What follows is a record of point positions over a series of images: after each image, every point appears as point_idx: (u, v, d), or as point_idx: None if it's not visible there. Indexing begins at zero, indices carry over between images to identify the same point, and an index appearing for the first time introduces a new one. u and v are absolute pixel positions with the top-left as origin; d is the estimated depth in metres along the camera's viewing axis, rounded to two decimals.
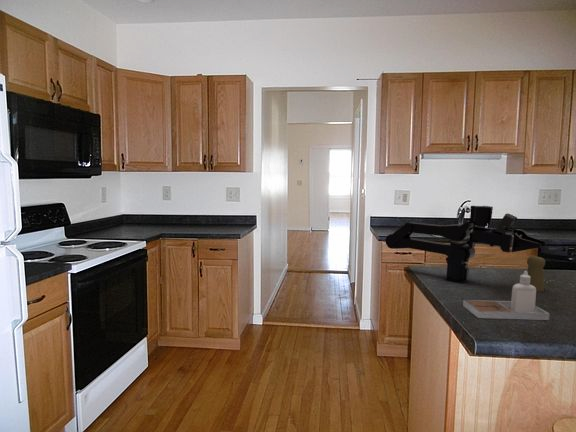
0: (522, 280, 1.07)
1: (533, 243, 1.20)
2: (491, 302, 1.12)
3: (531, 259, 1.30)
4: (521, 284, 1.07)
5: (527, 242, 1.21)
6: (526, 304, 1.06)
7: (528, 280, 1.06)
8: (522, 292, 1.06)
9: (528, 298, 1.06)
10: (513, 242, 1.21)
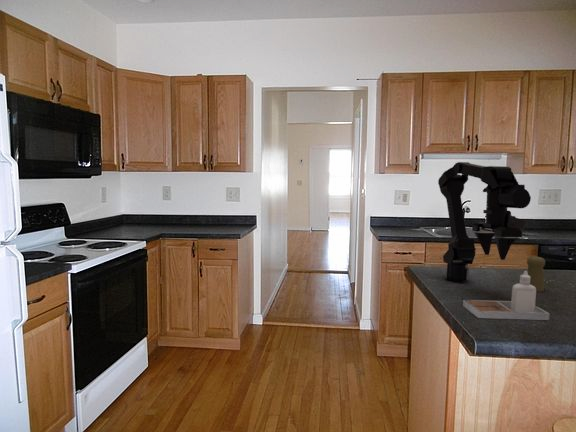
0: (522, 280, 1.07)
1: (505, 254, 1.16)
2: (491, 302, 1.12)
3: (531, 259, 1.30)
4: (521, 284, 1.07)
5: (507, 249, 1.15)
6: (526, 304, 1.06)
7: (528, 280, 1.06)
8: (522, 292, 1.06)
9: (528, 298, 1.06)
10: (510, 238, 1.13)
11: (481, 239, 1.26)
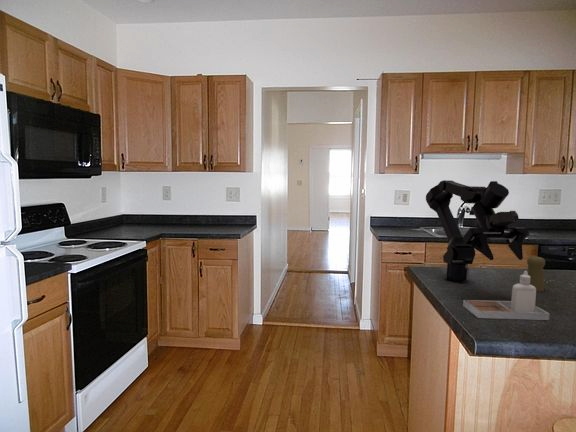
0: (522, 281, 1.07)
1: (488, 253, 1.15)
2: (491, 302, 1.12)
3: (531, 259, 1.30)
4: (521, 284, 1.07)
5: (485, 248, 1.15)
6: (526, 304, 1.06)
7: (528, 280, 1.06)
8: (522, 292, 1.06)
9: (528, 298, 1.06)
10: (473, 240, 1.18)
11: (511, 248, 1.20)
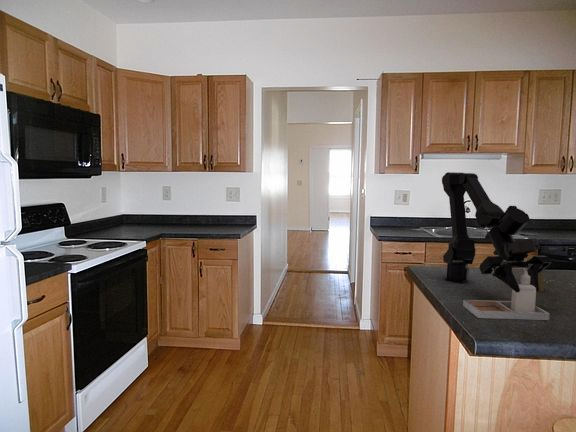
0: (522, 280, 1.07)
1: (514, 285, 1.06)
2: (491, 302, 1.12)
3: None
4: (521, 284, 1.07)
5: (510, 279, 1.07)
6: (526, 304, 1.06)
7: (528, 280, 1.06)
8: (522, 292, 1.06)
9: (528, 298, 1.06)
10: (497, 270, 1.09)
11: None
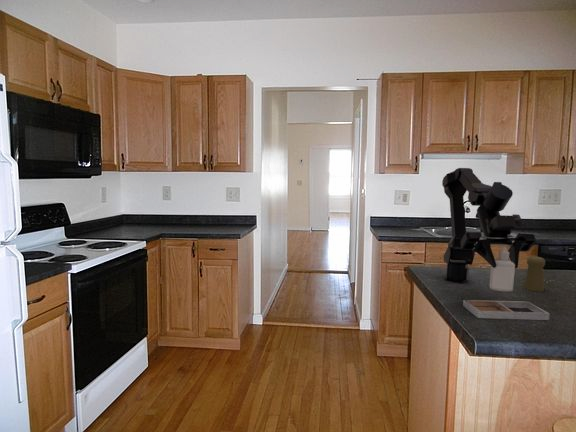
0: (500, 256, 1.06)
1: (491, 260, 1.06)
2: (491, 302, 1.12)
3: (531, 259, 1.30)
4: (499, 260, 1.06)
5: (488, 255, 1.07)
6: (503, 280, 1.06)
7: (506, 256, 1.05)
8: (499, 268, 1.06)
9: (506, 274, 1.05)
10: (476, 245, 1.10)
11: (509, 256, 1.10)
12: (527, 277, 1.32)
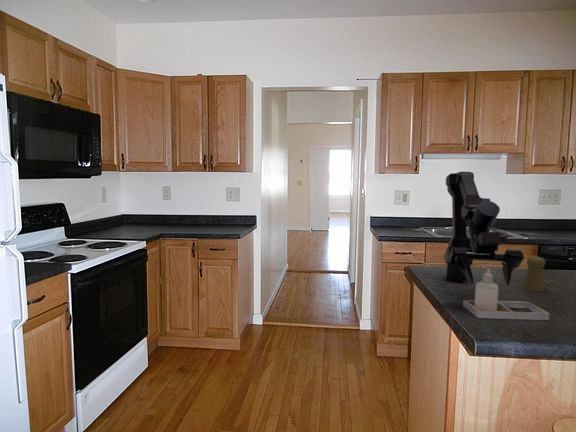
0: (483, 278, 1.07)
1: (468, 275, 1.08)
2: None
3: (531, 259, 1.30)
4: (482, 282, 1.07)
5: (466, 270, 1.09)
6: (486, 302, 1.07)
7: (489, 278, 1.06)
8: (482, 290, 1.07)
9: (489, 296, 1.06)
10: (456, 260, 1.12)
11: (503, 272, 1.10)
12: (527, 277, 1.32)
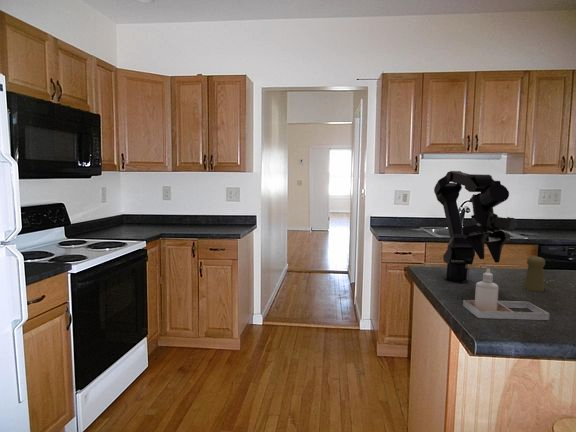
0: (484, 278, 1.08)
1: (481, 252, 1.16)
2: None
3: (531, 259, 1.30)
4: (483, 282, 1.08)
5: (480, 247, 1.16)
6: (486, 302, 1.07)
7: (489, 278, 1.07)
8: (482, 289, 1.07)
9: (489, 296, 1.07)
10: (474, 235, 1.16)
11: (489, 248, 1.24)
12: (527, 277, 1.32)
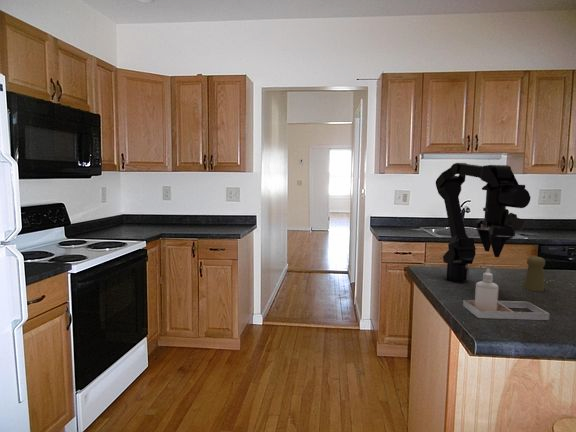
0: (484, 278, 1.08)
1: (499, 251, 1.18)
2: None
3: (531, 259, 1.30)
4: (483, 282, 1.08)
5: (500, 247, 1.18)
6: (486, 302, 1.07)
7: (489, 278, 1.07)
8: (482, 289, 1.07)
9: (489, 296, 1.07)
10: (503, 237, 1.15)
11: (481, 236, 1.28)
12: (527, 277, 1.32)
